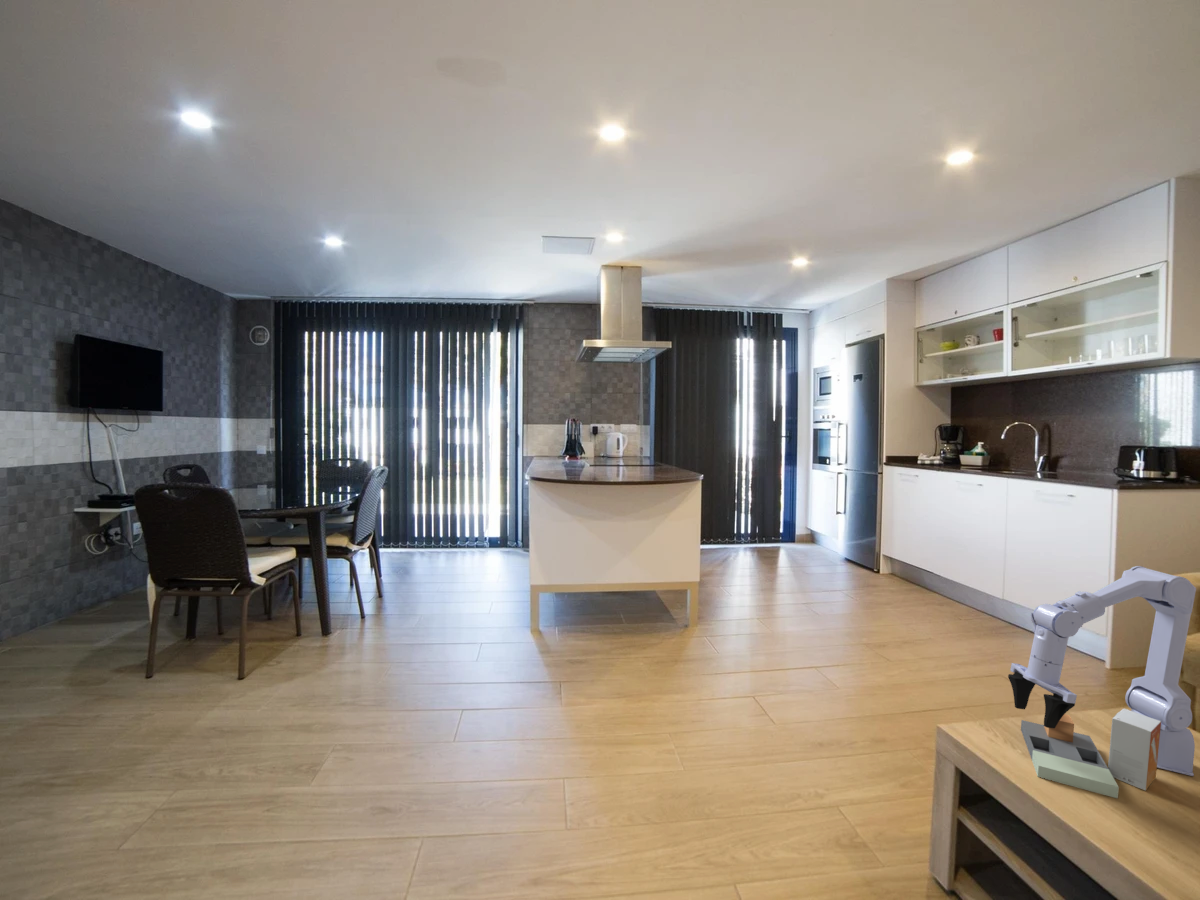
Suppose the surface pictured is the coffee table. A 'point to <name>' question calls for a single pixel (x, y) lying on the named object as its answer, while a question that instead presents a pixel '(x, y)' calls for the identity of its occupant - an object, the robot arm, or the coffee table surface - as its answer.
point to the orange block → (1062, 729)
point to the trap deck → (1068, 760)
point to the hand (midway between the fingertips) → (1034, 717)
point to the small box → (1134, 748)
